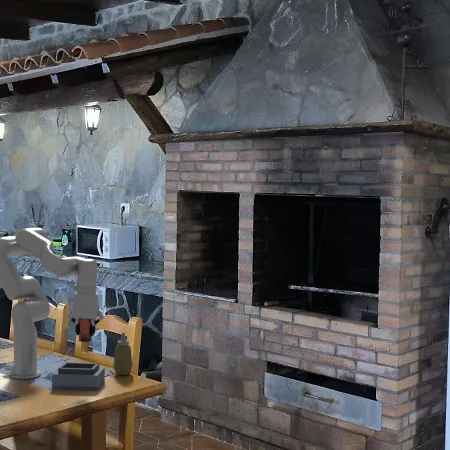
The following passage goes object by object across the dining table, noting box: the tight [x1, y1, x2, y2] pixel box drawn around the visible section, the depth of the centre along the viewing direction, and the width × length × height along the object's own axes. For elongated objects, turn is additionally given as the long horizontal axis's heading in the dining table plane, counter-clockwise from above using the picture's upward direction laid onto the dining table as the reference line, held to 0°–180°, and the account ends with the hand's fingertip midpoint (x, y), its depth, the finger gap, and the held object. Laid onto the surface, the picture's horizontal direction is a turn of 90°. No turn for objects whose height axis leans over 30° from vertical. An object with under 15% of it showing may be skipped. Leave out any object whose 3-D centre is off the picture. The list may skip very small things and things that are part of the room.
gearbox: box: [51, 361, 106, 392], centre depth 284 cm, size 18×13×8 cm
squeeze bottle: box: [113, 331, 133, 376], centre depth 302 cm, size 8×8×18 cm
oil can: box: [78, 319, 93, 343], centre depth 283 cm, size 5×5×13 cm
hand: (85, 334), depth 283 cm, fingers closed on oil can, 5 cm apart
